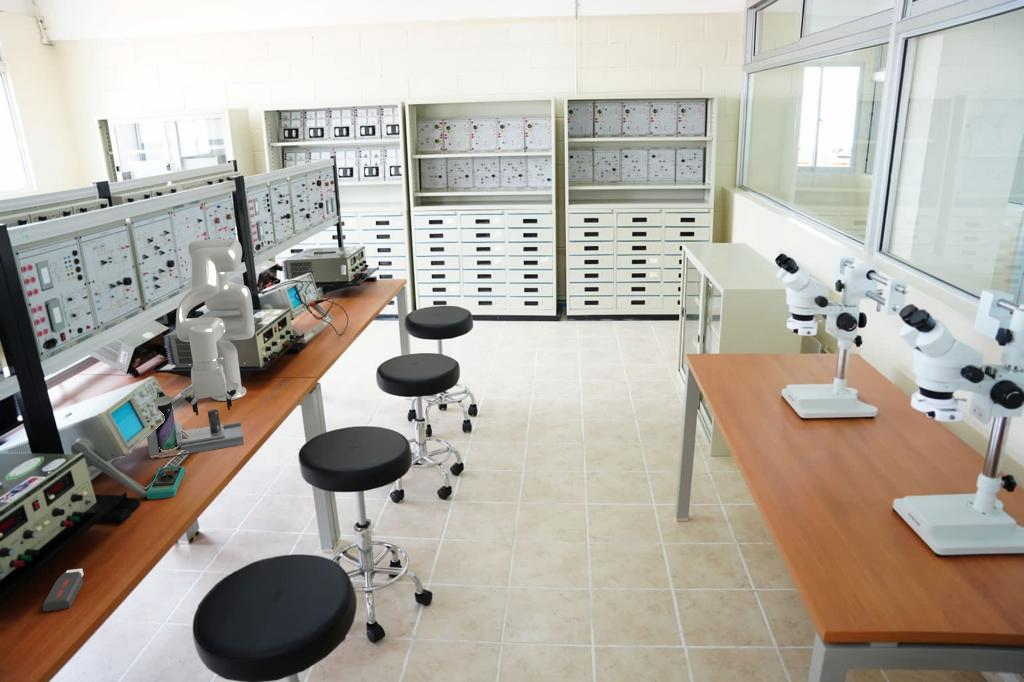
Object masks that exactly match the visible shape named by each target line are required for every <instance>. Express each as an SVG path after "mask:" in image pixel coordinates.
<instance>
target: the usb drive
mask: <svg viewBox="0 0 1024 682" xmlns="http://www.w3.org/2000/svg"><path fill="white" fill-rule="evenodd" d="M83 576H84V570H83V568H77V569H75V568H74V569H67V570H66V572H64V573H62V574H61V575H60V576H59V577H58V578H57V579H56V580H55V583H54V584H53V586H52V588H51V589H50V591H49V593H48V594H47V596H46V598H45V600H44V602H43V604H42V610H43V612H44V611H46V612H52V611H51V610H54V611H59V610H58V609H61V610H66V609H65V608H68V609H71V607H72V606H73V604H74V602H75V600H74V599H76V598H77V596H76V595H78V594H79V592H80V590H81V588H82V586H83V585H84V580H83ZM78 591H79V592H78ZM77 593H78V594H77ZM75 597H76V598H75ZM73 601H74V602H73ZM72 603H73V604H72ZM71 605H72V606H71ZM70 606H71V607H70Z"/></svg>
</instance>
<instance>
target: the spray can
mask: <svg viewBox="0 0 1024 682" xmlns="http://www.w3.org/2000/svg"><path fill="white" fill-rule="evenodd" d="M156 395H157V397H156V396H155V397H156V401H155V403H156V404H157V406H158V409H159V410H160V411H161V412H162V413H163V414H164V416H165V421H164V423H163V424H161V425H160V426H159V427H158V428H157V429H156V430H157V436H158V441H159V447H160V449H162V450H169V449H173V448H175V447H177V446H178V445H177V439H176V433H175V431H174V430H175V428H176V421H175V415H174V408H173V403H172V399H171V396H170V395H167V394H165V393H164V391H161V390H158V391H157V392H156Z"/></svg>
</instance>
